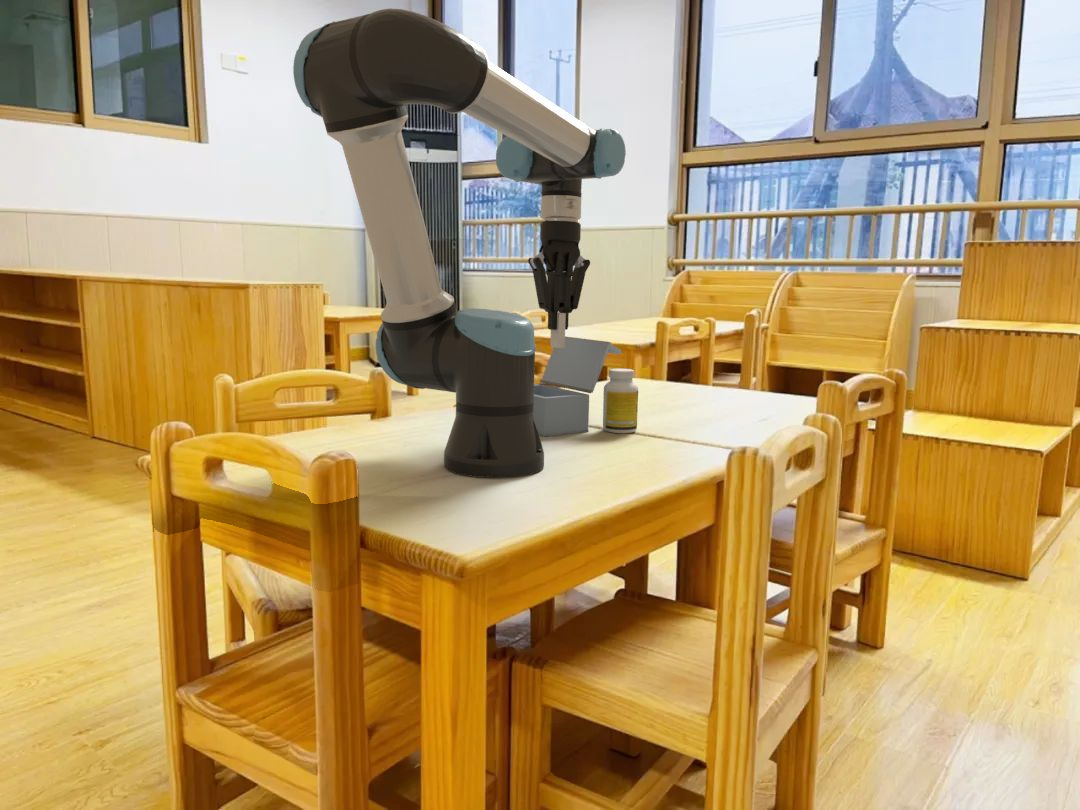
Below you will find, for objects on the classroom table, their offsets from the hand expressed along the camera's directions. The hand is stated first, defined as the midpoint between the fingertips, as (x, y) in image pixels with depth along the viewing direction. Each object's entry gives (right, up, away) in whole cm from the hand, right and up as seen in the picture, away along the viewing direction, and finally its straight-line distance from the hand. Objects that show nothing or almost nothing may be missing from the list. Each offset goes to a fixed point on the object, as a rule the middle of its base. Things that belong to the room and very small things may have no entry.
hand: (557, 347), depth 155 cm
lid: (+3, -3, +3) cm, 5 cm away
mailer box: (-3, -15, +1) cm, 16 cm away
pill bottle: (+12, -16, -1) cm, 20 cm away
